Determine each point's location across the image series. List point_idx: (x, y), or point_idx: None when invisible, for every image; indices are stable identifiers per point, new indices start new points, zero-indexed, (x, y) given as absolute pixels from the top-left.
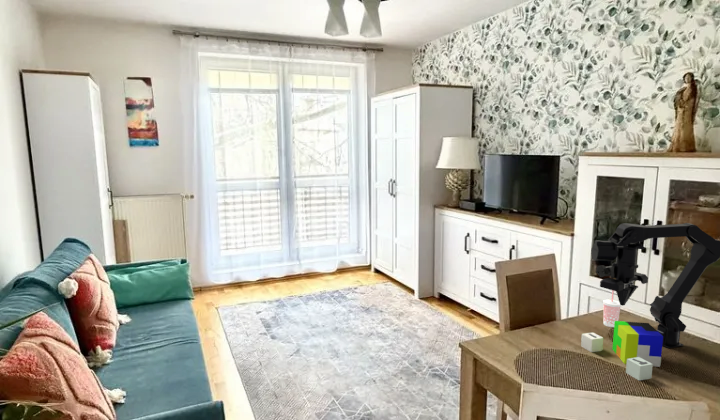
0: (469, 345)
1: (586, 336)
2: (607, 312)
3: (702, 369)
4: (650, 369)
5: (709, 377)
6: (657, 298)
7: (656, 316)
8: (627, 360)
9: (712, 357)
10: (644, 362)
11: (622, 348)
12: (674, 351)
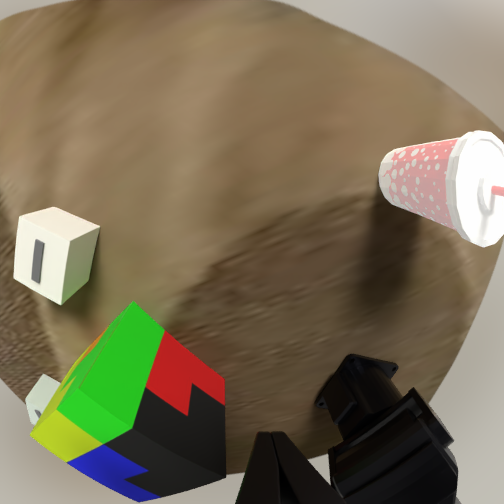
0: None
1: (16, 246)
2: (420, 172)
3: (237, 464)
4: None
5: None
6: (438, 492)
7: (359, 456)
8: (27, 397)
9: None
10: None
11: (67, 377)
12: (304, 414)
